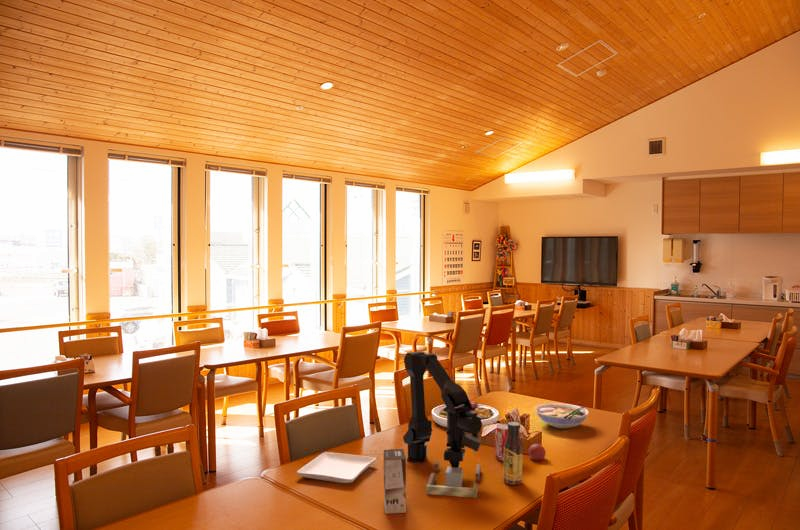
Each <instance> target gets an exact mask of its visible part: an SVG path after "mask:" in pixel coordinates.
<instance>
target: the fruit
mask: <svg viewBox="0 0 800 530" xmlns="http://www.w3.org/2000/svg"><path fill="white" fill-rule="evenodd" d="M527 450H528V455H529V458H530V459H531V460H532V461H535V462H537V461H538V462H540V461H543V460H544V459H545V457H546V453H547V452H546V449H545V447H544V446H543V445H542V444H540V443H534V444H532V445H530V446H529V448H527Z"/></svg>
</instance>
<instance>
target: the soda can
mask: <svg viewBox="0 0 800 530" xmlns="http://www.w3.org/2000/svg"><path fill="white" fill-rule="evenodd" d="M507 436H508V423H506V424H505V423H504V424H501V423H500V424H497V425H496V428H495V430H494V456H495V458H496V459H498V460H499V461H501V462H503V457H504V445H505V442H506V439H507Z"/></svg>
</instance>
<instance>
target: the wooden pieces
mask: <svg viewBox="0 0 800 530" xmlns="http://www.w3.org/2000/svg"><path fill="white" fill-rule="evenodd" d="M475 468H476V469H475V475H474V476H475V478H474V479H475V482H473V487H464V486H461V487H453V486H446V485H435V482H436V473H435V472H439V470H440V461H439V460H437V461H435V462H434V472H431V473H430V475H429V477H428V481H427V484H426V495H437V496H447V497H449V496H450V497H461V498H463V497H464V498H474V499H476V498H477V497H478V492H479V491H478V490H479V488H478V487H479V485H478V483H477V482H479V481H480V478H481V477H480V476H481V463H477V464H476V467H475Z"/></svg>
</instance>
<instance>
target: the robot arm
mask: <svg viewBox="0 0 800 530" xmlns="http://www.w3.org/2000/svg"><path fill="white" fill-rule="evenodd" d="M403 357H404V358H403V362H404V370H405V371H406V373H407V374H408V376H409V379H410V380H409V383H410V397H411V398H410V400H411V402H410V403H411V417H410V420H409V421H408V425H407V426H408V427H407V431H406V432H405V434H404V435H403V437H402V439H403V442H404V444H406V445H407V457H406V462H421V463H424V462H425V461H426V459H427V457H428V445H426V443H427V442H430V440H431V436H432V434H433V433H432V432H433V428H432V420H430V419H429V418H428V417H427V415H426V400H425V398H426V397H425V379H424V376H425V373H426V372H428V373H429V374H430V376H431V377H432V378H433V380H434V381H435V383H436V384H437V386H438V388H439V390H440V392H441V393H440V397H441V399H442V401H443V403H444V405H446V407H445V408H444V409H443V411H445V412H447V428H446V431H445V432H446V436H447V437H446V447H447V448H446V449H445V450H444V453H443V461H446V462H447V461H448V462H449V464H450V467H457V468H460V467H459V466H460V462H463V461H464V459H465V453H466V449H465V447H466V448H468V449H471V450H473V451H474V452H478V451H479V449H480V447H481V443H482V438H481V437H479V433H480V432H481V430H482V429H481V428H482V422H481V420H480V418H479V417H477V413H475V412H470V411H473V408H472V404H471V401H470V399H469V396H468V393H467V392H466V390H465V389H464V388H463V387H462V386H461V385H460V384H459V383H456V382H455V381H453V380H452V378H451V377H450V376H449V374H448V372H447V371H446V369H445V368H444V367H443V365H442V364H441V363H440V361H439V360H438V355H436V354H435V353H425V352H424V351H420V350H419V351H414V352H413V351H412V352H407V353H406V354H405V355H404V356H403ZM464 405H465V406H464ZM459 406H464V407H459ZM455 407H459V408H455Z"/></svg>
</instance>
